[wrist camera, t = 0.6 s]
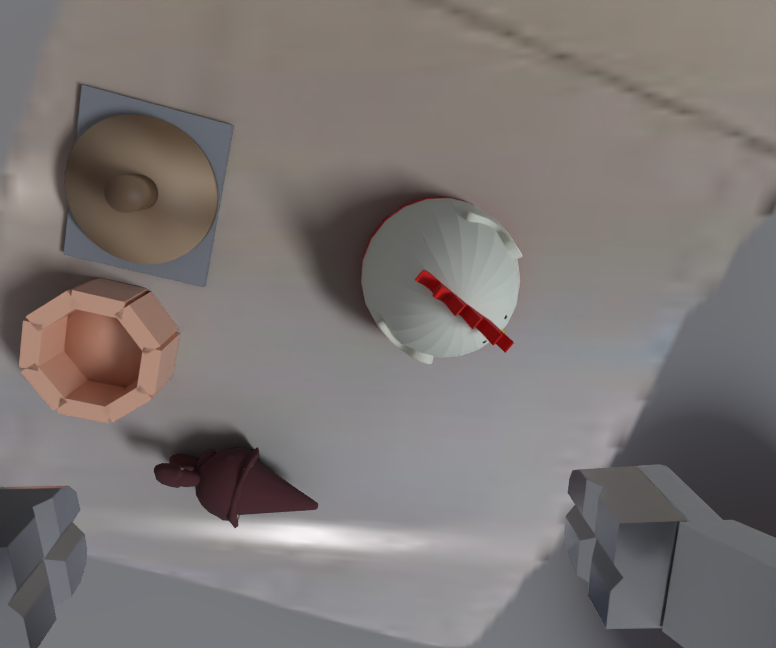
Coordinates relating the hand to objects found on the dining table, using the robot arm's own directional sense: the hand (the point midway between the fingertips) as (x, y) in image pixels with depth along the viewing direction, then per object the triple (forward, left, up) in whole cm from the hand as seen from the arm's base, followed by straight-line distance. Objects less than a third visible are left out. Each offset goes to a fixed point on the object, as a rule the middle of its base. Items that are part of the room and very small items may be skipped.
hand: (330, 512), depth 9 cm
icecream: (+25, -5, -42) cm, 49 cm away
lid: (+1, -17, -41) cm, 45 cm away
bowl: (+15, -18, -42) cm, 48 cm away
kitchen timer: (+2, +9, -42) cm, 43 cm away
